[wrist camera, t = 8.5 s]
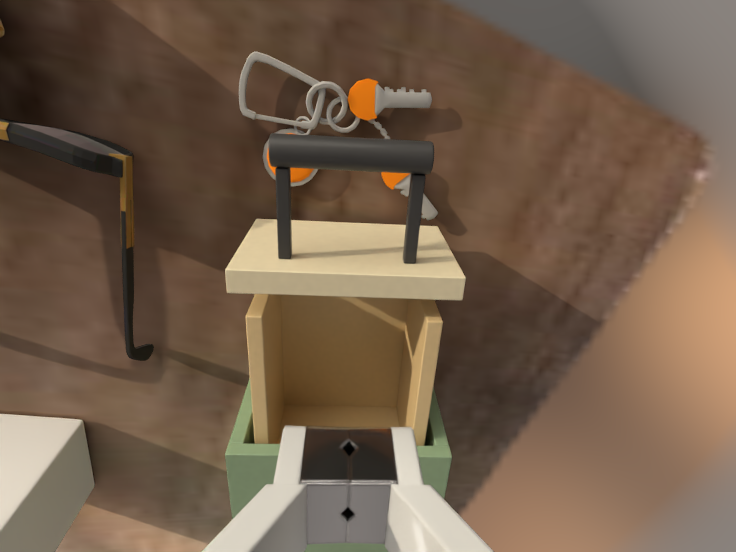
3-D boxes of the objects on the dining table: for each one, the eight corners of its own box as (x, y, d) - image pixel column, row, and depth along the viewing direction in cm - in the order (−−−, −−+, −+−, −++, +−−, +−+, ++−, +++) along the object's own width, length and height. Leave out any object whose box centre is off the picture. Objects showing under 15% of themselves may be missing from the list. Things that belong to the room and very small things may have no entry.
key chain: (225, 165, 26) (222, 168, 25) (250, 28, 23) (247, 26, 22) (430, 226, 28) (433, 231, 27) (477, 107, 25) (482, 108, 24)
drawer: (250, 116, 24) (212, 136, 17) (450, 127, 24) (487, 150, 18) (266, 402, 32) (244, 489, 26) (414, 405, 33) (430, 490, 26)
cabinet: (257, 352, 31) (224, 454, 23) (426, 357, 32) (452, 457, 24) (266, 499, 38) (243, 619, 30) (406, 499, 38) (422, 617, 30)
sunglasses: (-64, 321, 29) (-139, 367, 25) (-123, 74, 23) (-239, 76, 18) (154, 351, 31) (121, 399, 26) (154, 128, 25) (110, 142, 20)
